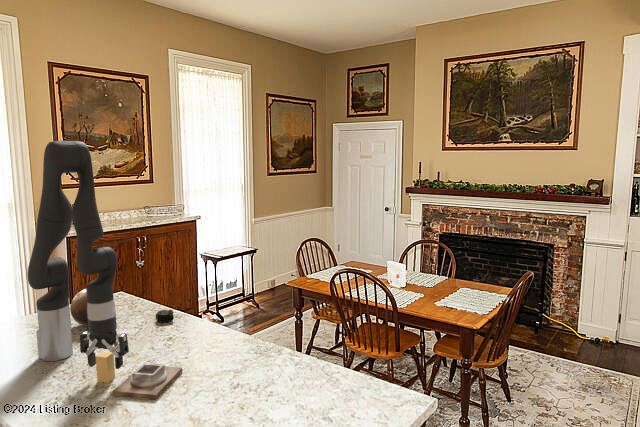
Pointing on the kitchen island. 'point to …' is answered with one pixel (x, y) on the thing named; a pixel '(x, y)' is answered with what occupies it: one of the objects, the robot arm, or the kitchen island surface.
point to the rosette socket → (148, 381)
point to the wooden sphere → (80, 308)
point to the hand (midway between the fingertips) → (105, 366)
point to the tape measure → (164, 315)
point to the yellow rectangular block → (105, 367)
